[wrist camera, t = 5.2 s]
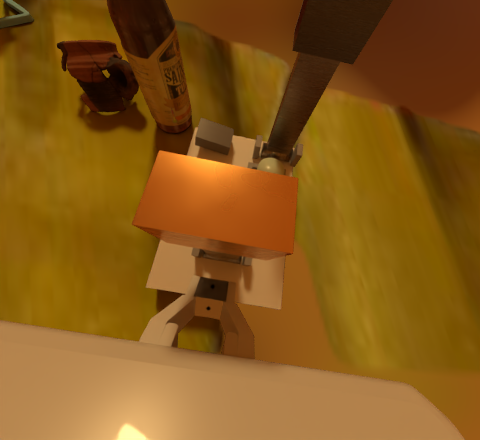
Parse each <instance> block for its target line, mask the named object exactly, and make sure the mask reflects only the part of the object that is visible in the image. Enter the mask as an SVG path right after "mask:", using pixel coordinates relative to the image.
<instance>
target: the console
mask: <svg viewBox="0 0 480 440" xmlns="http://www.w3.org/2000/svg"><path fill="white" fill-rule="evenodd" d="M197 130H198V128H195V131H194V134H193V137H192V141H191V144H190V147H189V150H188V153H187V156H190V157H195V158H200V159H205V160H210V161H215V162H220V163H225V164H230V165H235V166H240V167H245V168H250V169H255V170H257V167H258V164H259V163H260V161H261V160H263V159H265V157H260V155H261V149H262V145H263V141H262V136H260V135H257V138H256V140H253V139H249V138H244V137H239V136H234V135H233V137H232V142H231V146H230V150H229V153H228V155H225V154H222V153H219V152H215V151H212V150H209V149H206V148H203V147H200V146H197V145H195V136H196V133H197ZM264 143H268V142H264ZM302 151H303V144H299V143H298V144H297V145H296V147H295V149H294V148H293V155H292V158H291V160H290V162H285V161H280V160H279V161H280V162H281V163H282V164H283V166H284V170H285V172H284V175H285V176H290V177H292V172H293V167H295V166H296V164H297V163H298V161H299V160H300V158H301V157H302ZM203 252H204V251H203V250H202V249H198V248H193V247H187V246H182V245H176V244H171V243H166V242H164V241H163V240H160V243H159V246H158V250H157V253H156V256H155V259H154V262H153V266H152V269H151V272H150V275H149V278H148V282H147V285H146V287H148V288H154V289H160V290H166V291H172V292H177V293H183V294H186V291H187V289H188V286H189V284H190V281H191V279H192V276H193V275H195V276H200V277H206V278H211V279H217V280H224V281H229V282H235V283H236V291H235V302H237V303H243V304H249V305H255V306H261V307H267V308H273V309H279V310H281V304H282V292H283V279H284V268H285V256H283V257H279V258H275V259H271V260H268V261H266V260H260V259H254V258H249V257H243V256H242V258H241V262H240V264H235V263H229V262H223V261H218V260H212V259H206V258H203Z"/></svg>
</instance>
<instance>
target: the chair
mask: <svg viewBox="0 0 480 440" xmlns="http://www.w3.org/2000/svg"><path fill="white" fill-rule="evenodd" d="M4 2H5V3H6V4H7V5H9V6H10V7H12V8H13V9H14V10H16V11H18V12H19V13H21V14H19V15H14V16H9V17H4V18H0V28H5V27H9V26H14V25H19V24H23V23H28V22H32V21H34V19H33V18H32V16H31V15H30V14H29V13H28V12H27V11H26V10H25V9H24V8H22V7H21V6H19V5H18V4H17V3H15V2H14V1H12V0H4Z"/></svg>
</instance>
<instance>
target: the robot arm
mask: <svg viewBox="0 0 480 440" xmlns="http://www.w3.org/2000/svg"><path fill="white" fill-rule="evenodd" d="M235 291H236V283H235V282H229V281H224V280H217V279H211V278H206V277H200V276H195V275H193V276H192V279H191V281H190V284H189V286H188V289H187V291H186V294H185V295H182V296H181V297H179V298H178V299H177V300H175V301H174V302H173V303H171V304H170V305H169V306H167V307H166V308H165V309H163V310H162V311H161V312H159V313H158V314H157V315H155V316H154V317H153V318H151V320H150V321H149V323H148V325H147V327H146V329H145V331H144V333H143V335H142V336H141V338H140V340H139V342H137V341H131V340H124V339H118V338H111V337H105V336H98V335H92V334H85V333H79V332H72V331H66V330H60V329H53V328H47V327H40V326H34V325H27V324H21V323H15V322H8V321H2V320H0V440H465V439H464V438H463V436H462V435H461V434H460V432H459V431H458V430H457V429H456V427H455V426H454V425H453V423H452V422H451V421H450V420H449V419H448V418H447V417H446V416H445V415H444V414H443V413H442V412H441V411H440V410H438V409H437V408H436V407H435V406H434V405H433V404H432V403H431V402H430V401H429V400H428V399H427V398H425V397H424V396H423V395H422V394H421V393H420V392H419V391H417V390H416V389H415V388H414V387H412V386H411V385H409V384H406V383H402V382H397V381H390V380H384V379H377V378H371V377H364V376H357V375H351V374H345V373H338V372H331V371H326V370H319V369H312V368H306V367H300V366H293V365H287V364H280V363H274V362H266V361H261V360H255V358H254V335H253V333H252V331H251V329H250V328H249V326H248V324H247V322H246V320H245V318H244V317H243V315H242V313H241V311H240V309H239V307H238V306H237V304H235V303H234V302H235ZM194 316H201V317H208V318H213V319H218V320H220V323H221V326H222V329H223V331H224V334H225V341H224V345H223V349H222V352H221V354H215V353H209V352H202V351H196V350H189V349H183V348H177V347H178V333H179V332H180V331H181V330H182V329H183V328H184V327H185V325H186V324H187V323H188V322H189V321H190V320H191V319H192V318H193V317H194Z"/></svg>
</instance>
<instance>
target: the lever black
mask: <svg viewBox="0 0 480 440" xmlns="http://www.w3.org/2000/svg"><path fill="white" fill-rule="evenodd" d="M392 1H393V0H303V4H302V7H301V10H300V14H299V17H298V21H297V24H296V27H295V32H294V41H293V51H296V52H298V55H297V58H296V60H295V63H294V66H293V69H292V72H291V75H290V78H289V81H288V84H287V87H286V90H285V93H284V96H283V99H282V102H281V104H280V107H279V110H278V113H277V116H276V119H275V122H274V125H273V128H272V131H271V134H270V137H269V140H268V143H264V142H263V145H262V149H261V155H260V157H265V158H275V159H277V160H280V161H285V162H290V160H291V158H292V155H293V146H294V144H295V142H296V141H297V139H298V137H299V135H300V133H301V132H302V130H303V128H304V126H305V124H306V123H307V121H308V119H309V117H310V116H311V114H312V112H313V110H314V108H315V107H316V105H317V103H318V101H319V99H320V98H321V96H322V94H323V92H324V90H325V89H326V87H327V85H328V83H329V81H330V80H331V78H332V76H333V74H334V72H335V70H336V69H337V67H338V65H339V63H340V62H344V63H349V64H353V63H354V62H355V60H356V58H357V57H358V55H359V54H360V52H361V50H362V49H363V47H364V46H365V44H366V42H367V41H368V39H369V38H370V36H371V34H372V33H373V31H374V30H375V28H376V26H377V25H378V23H379V21H380V20H381V18H382V17H383V15H384V13H385V12H386V10H387V9H388V7H389V6H390V4H391V2H392Z"/></svg>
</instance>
